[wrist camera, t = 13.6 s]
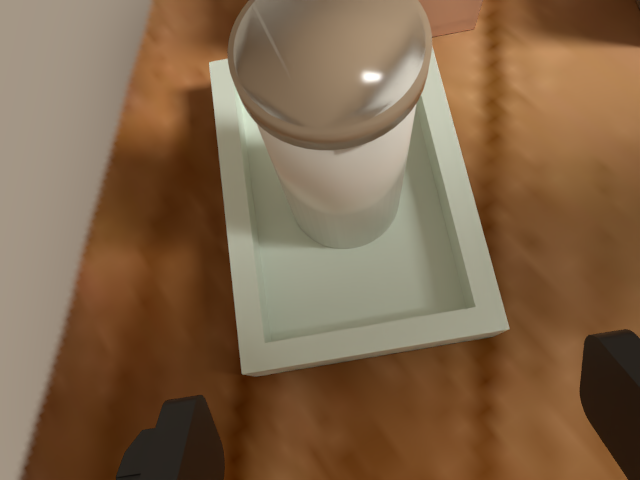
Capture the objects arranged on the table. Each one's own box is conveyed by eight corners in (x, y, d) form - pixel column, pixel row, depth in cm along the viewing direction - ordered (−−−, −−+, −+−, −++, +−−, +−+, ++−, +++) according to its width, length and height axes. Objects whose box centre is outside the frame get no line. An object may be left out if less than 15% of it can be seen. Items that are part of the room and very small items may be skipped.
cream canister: (390, 135, 23) (407, -55, 13) (414, 241, 21) (454, 112, 12) (280, 155, 23) (218, -17, 13) (295, 261, 21) (238, 152, 12)
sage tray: (419, 56, 25) (425, 20, 22) (493, 336, 21) (509, 329, 18) (223, 93, 25) (208, 62, 23) (255, 376, 21) (241, 374, 19)
